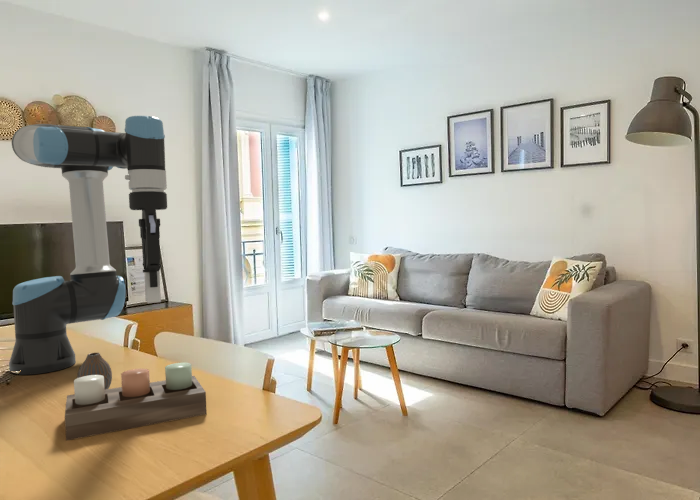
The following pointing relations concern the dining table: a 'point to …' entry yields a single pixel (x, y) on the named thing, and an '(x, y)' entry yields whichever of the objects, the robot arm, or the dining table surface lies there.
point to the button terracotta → (135, 382)
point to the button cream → (89, 389)
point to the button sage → (178, 376)
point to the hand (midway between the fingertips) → (153, 301)
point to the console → (133, 409)
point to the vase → (96, 368)
